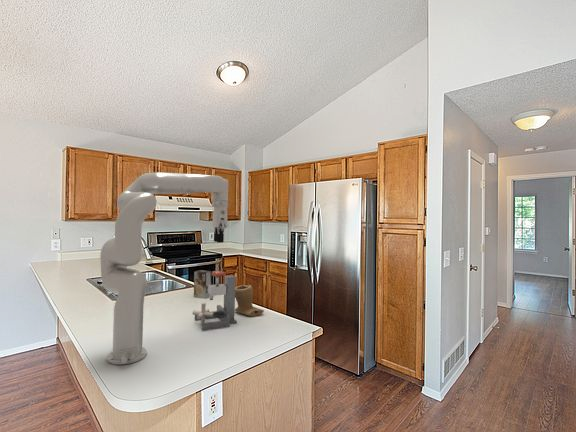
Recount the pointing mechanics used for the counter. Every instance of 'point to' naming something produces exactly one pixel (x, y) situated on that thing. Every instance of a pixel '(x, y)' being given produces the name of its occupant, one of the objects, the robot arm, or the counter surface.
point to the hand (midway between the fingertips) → (218, 241)
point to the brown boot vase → (246, 301)
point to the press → (223, 313)
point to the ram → (216, 286)
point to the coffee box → (202, 283)
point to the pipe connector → (202, 313)
